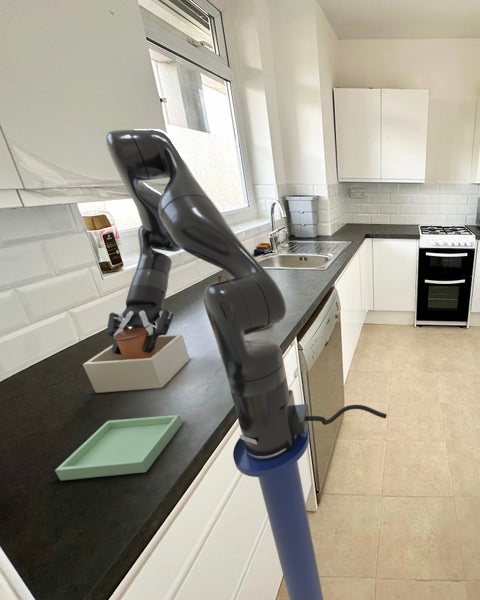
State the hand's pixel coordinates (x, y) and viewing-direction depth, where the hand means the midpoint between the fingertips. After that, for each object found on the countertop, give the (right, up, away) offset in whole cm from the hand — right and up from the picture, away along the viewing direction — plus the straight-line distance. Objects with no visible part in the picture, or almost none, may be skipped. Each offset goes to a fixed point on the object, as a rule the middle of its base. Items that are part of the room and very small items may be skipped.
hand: (132, 352), depth 75 cm
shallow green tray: (+14, -15, -18) cm, 27 cm away
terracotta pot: (0, -4, +3) cm, 5 cm away
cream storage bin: (0, -6, +4) cm, 8 cm away
